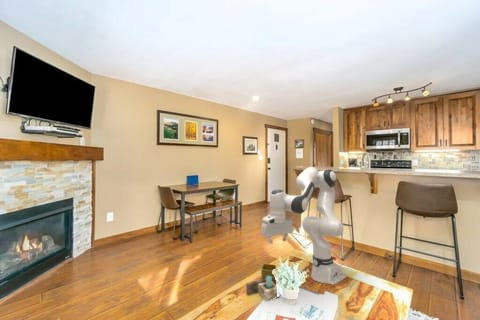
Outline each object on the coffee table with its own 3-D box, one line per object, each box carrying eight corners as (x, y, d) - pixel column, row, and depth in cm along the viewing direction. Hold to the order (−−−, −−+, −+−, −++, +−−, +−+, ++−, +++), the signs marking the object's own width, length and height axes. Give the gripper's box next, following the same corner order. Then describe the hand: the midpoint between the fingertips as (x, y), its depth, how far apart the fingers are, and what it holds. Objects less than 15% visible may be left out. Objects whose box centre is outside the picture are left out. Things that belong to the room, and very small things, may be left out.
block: (271, 288, 132) (271, 280, 132) (279, 297, 124) (279, 288, 124) (257, 292, 128) (257, 283, 128) (266, 301, 120) (266, 291, 120)
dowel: (269, 291, 128) (269, 275, 128) (272, 294, 125) (272, 277, 125) (265, 292, 127) (265, 276, 127) (268, 295, 124) (268, 278, 124)
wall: (278, 284, 136) (278, 275, 137) (280, 286, 135) (280, 276, 135) (246, 293, 127) (246, 283, 127) (247, 295, 125) (247, 284, 126)
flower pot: (276, 278, 144) (276, 264, 144) (275, 285, 135) (275, 271, 135) (263, 277, 146) (263, 263, 146) (261, 283, 138) (260, 269, 138)
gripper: (288, 215, 136) (288, 238, 136) (259, 218, 128) (259, 242, 127) (295, 217, 130) (295, 241, 130) (265, 221, 122) (265, 246, 122)
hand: (277, 242), depth 129 cm, fingers open, 8 cm apart
